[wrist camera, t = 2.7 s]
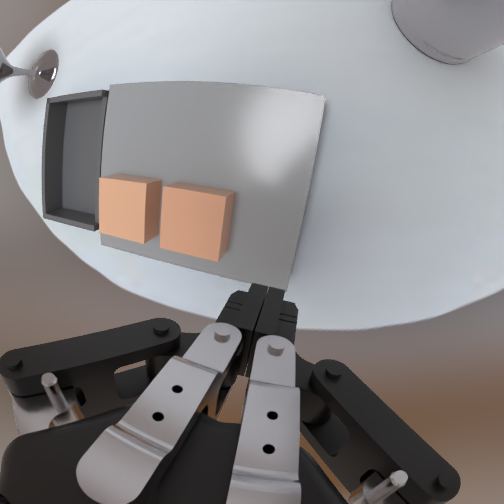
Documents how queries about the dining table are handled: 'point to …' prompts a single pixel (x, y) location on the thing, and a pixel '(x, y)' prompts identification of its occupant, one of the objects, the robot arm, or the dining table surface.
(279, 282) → the slate ledge
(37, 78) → the wine glass
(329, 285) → the dining table surface
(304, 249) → the dining table surface
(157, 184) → the tile rear
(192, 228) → the tile front
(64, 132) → the tray
